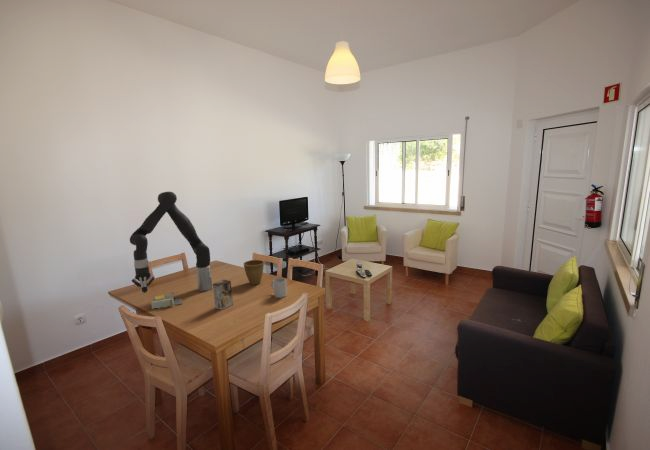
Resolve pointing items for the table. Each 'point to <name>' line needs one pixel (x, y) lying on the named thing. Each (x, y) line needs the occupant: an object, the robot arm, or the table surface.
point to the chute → (166, 301)
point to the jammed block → (160, 297)
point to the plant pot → (254, 271)
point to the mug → (279, 287)
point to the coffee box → (222, 294)
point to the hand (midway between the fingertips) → (145, 292)
